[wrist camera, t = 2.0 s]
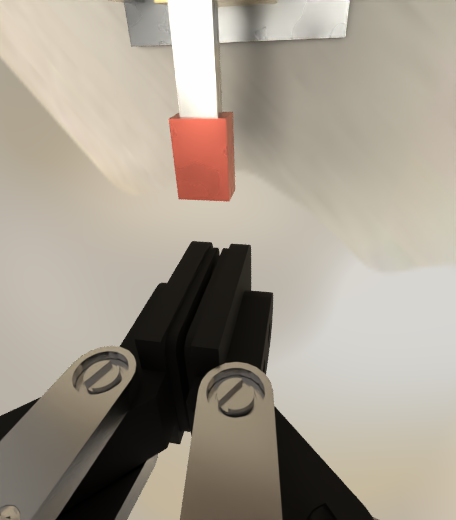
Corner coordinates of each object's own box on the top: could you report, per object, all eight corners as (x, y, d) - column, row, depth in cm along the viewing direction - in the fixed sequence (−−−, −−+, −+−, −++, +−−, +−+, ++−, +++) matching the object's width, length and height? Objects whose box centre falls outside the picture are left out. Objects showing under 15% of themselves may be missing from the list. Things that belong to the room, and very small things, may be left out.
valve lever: (153, -136, 14) (135, -156, 13) (224, -147, 14) (214, -169, 12) (187, 187, 22) (178, 199, 20) (235, 189, 21) (229, 201, 20)
